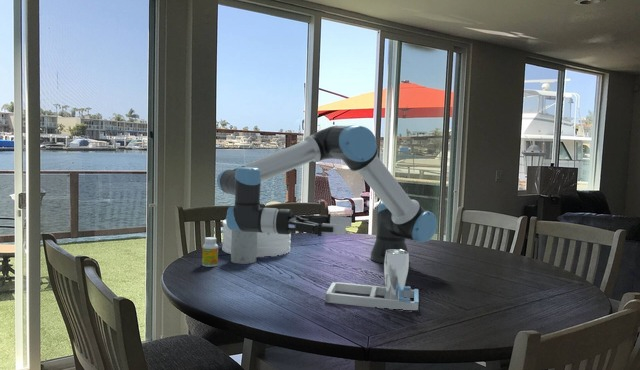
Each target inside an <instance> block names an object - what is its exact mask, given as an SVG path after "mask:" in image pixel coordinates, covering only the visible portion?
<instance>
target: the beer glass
mask: <svg viewBox="0 0 640 370" xmlns="http://www.w3.org/2000/svg"><path fill="white" fill-rule="evenodd" d="M409 253H410V252H409V251H408V252H407V251H404V250H398V249H389V250H386V255H385V262H384V263H383V272H384V283H385V287H386V291H385V296H383V297H384V298H385V299H394V300H399V297H404V287H405V286H406V283H407V279H408V278H407V277H408V273H409V265H410V254H409Z"/></svg>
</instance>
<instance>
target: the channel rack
mask: <svg viewBox="0 0 640 370" xmlns="http://www.w3.org/2000/svg"><path fill="white" fill-rule="evenodd" d="M385 291H386V286H378V285H371V284H370V285H368V284H358V283H350V282H339V281H332V283H331V284H330V286H329V287H328V289H327V291H326V292H325V296H324V297H325V298H324V299H325V300H324V303H329V304H330V303H331V304H339V305H346V306H347V305H348V306H355V307H358V306H359V307H367V308H375V307H377V308H376V309H384V308H389V309H388V310H393V309H403V310H418V311H419V304H418V303H414V300H413V301H412V300H410V303H409V302H399V300H394V299H385V298H383V297H384V296H385ZM336 292H340V293H336ZM341 292H342V293H341ZM344 293H348V294H344ZM349 293H353V294H349ZM354 294H360V295H354ZM361 294H362V295H363V296H362V295H361ZM364 295H365V296H364ZM366 295H369V296H366ZM377 296H378V297H377ZM379 296H380V297H379ZM404 297H407V298H414V289H411V291H408V290H404ZM403 310H402V311H403Z"/></svg>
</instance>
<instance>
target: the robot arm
mask: <svg viewBox="0 0 640 370" xmlns="http://www.w3.org/2000/svg"><path fill="white" fill-rule="evenodd" d="M378 154H379V149H378V148H377V138H376V136H375V134H374V133H373V131H371V129H369V128H368V127H366V126H362V125H358V124H352V125H332V126H328V127H326V128H323V129H321V130H318V131H317V132H315V133H312V134H310V135H307V136H306V137H305V138H304V140H303V141H301V142H298V143H296V144H293V145H290V146H288V147H286V148H285V147H284V148H283V149H281V150H277V151H276V152H272V153H271V154H269V155H266V156H264V157H261V158H259V159H256V160H254V161H251V162H248V163H246V164H244V165H241V166H238V167H236V168H233V169H226V170H225V169H224V170H223V171H220V173H219V174H218V176H217V179H216V183H217V187H218V189H219V190H220V191H221V192H223V193H225V194H229V195H232V196H234V205H231V206H229V207H228V209H227V211H226V217H225V220H226V223H227V226H228V228H229V229H231V230H236V231H241V232H261V233H266V232H267V235H270V233H278V234H287V235H288V234H290V233H291V234H292V232H301V233H307V234H312V235H316V236H317V237H322V234H325V235H326V234H327V235H341V236H342V235H343V236H346V231H347V229H346V227H350V228H352V219H353V218H352V217H349V216H348V217H345V216H333V215H332V214H331V213H327V214H315V215H314V214H311V215H309V214H308V215H307V214H306V215H305V214H299V215H297V216H294V213H293V210H292V209H289V208H277V207H261V202H260V201H261V183H264V182H267V181H268V180H270V179H273V178H275V177H278V176H281V175H283V174H285V173H287V172H290V171H292V170H294V169H296V168H299V167H302V166H304V165H306V164H308V163H311V162H314V163H318V162H320V161H324V160H328V159H330V160H331V159H333V160H341V161H342V162H344V164H345V165H346V166H347V167H348V169H349V170H350V171H351V172H357V173H358V174H359V175H360V176H361V177H362V179H363V180H364V181H365V183H367V185H368V187H370V189H371V190H372V191H373V192H374V194H376V196H377V197H378V198H379V200H381V203H379V204H378V206H377V211H376V232H375V233H376V234H375V235H376V236H375V242H374V244H373V246H372V249H371V251H370V260H371V261H373V262H376V263H379V264H384V262H385V255H386V250H389V249H398V250H404V251H407V252H409V251H408V247H407V243H406V240H410V241H414V242H416V243H427V242H428V241H430V240H431V239H432V238H433V237H434V235H435V233H436V231H437V225H438V220H437V217H436V215H435V213H433V212H431V211H429V210H426V209H424V208H423V206H422V205H421V203H420V202H419V201H418V200H416V199H411V197H409V195H408V194H407V193H406V191H405V190H404V188H402V186H401V185H400V183H399V182H398V181H397V180H396V178H395V177H394V176H393V175H392V173H391V172H390V171H389V169H388V168H387V167H386V165H385V164H384V162H383V161H382V160H381V159H380V158H379V156H378ZM291 234H290V235H291Z"/></svg>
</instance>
